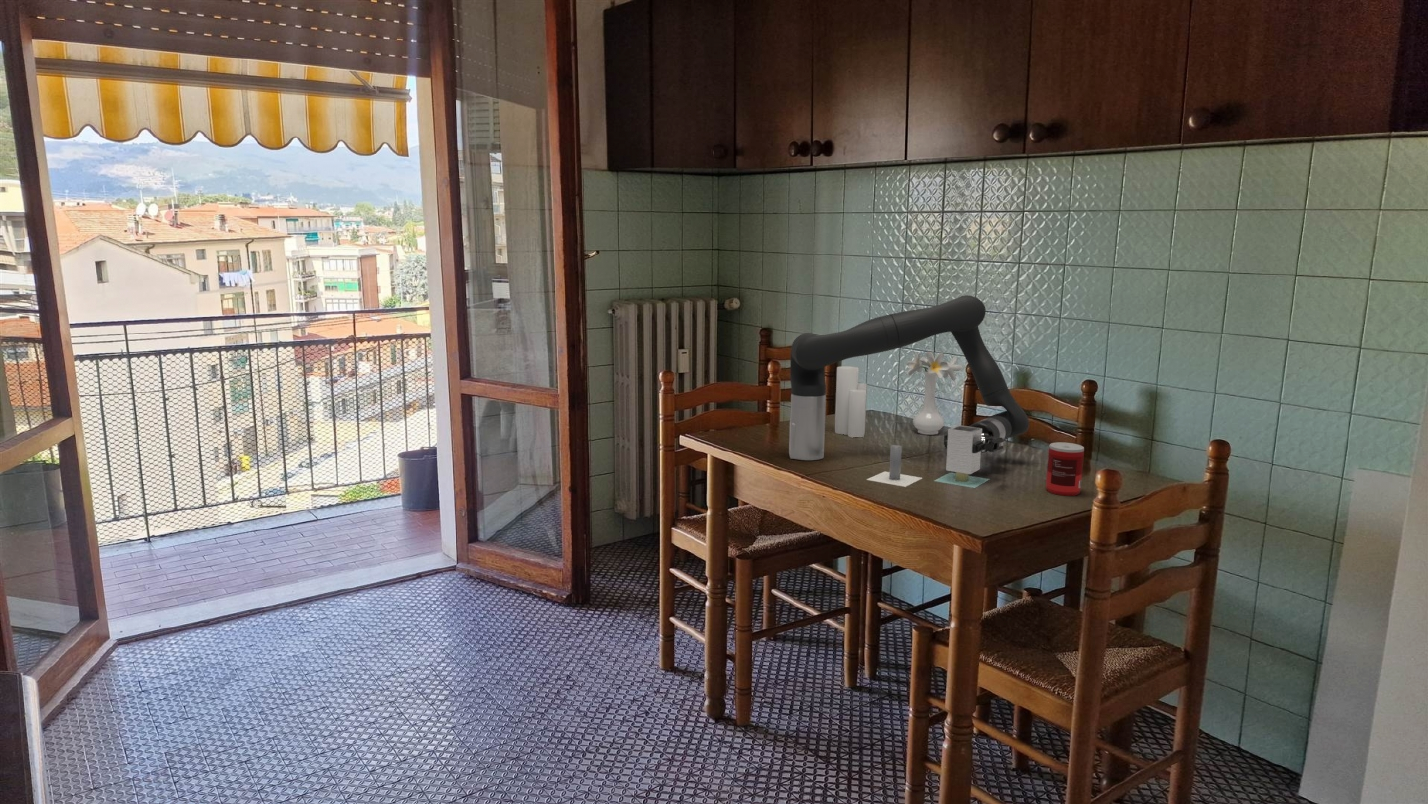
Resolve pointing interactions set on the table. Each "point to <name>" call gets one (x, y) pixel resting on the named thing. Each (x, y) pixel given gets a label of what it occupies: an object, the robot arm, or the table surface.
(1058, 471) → the canned food
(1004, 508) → the table surface
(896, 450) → the stand
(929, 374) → the flower vase
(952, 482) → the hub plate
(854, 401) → the white joined cylinders
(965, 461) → the white sleeve
